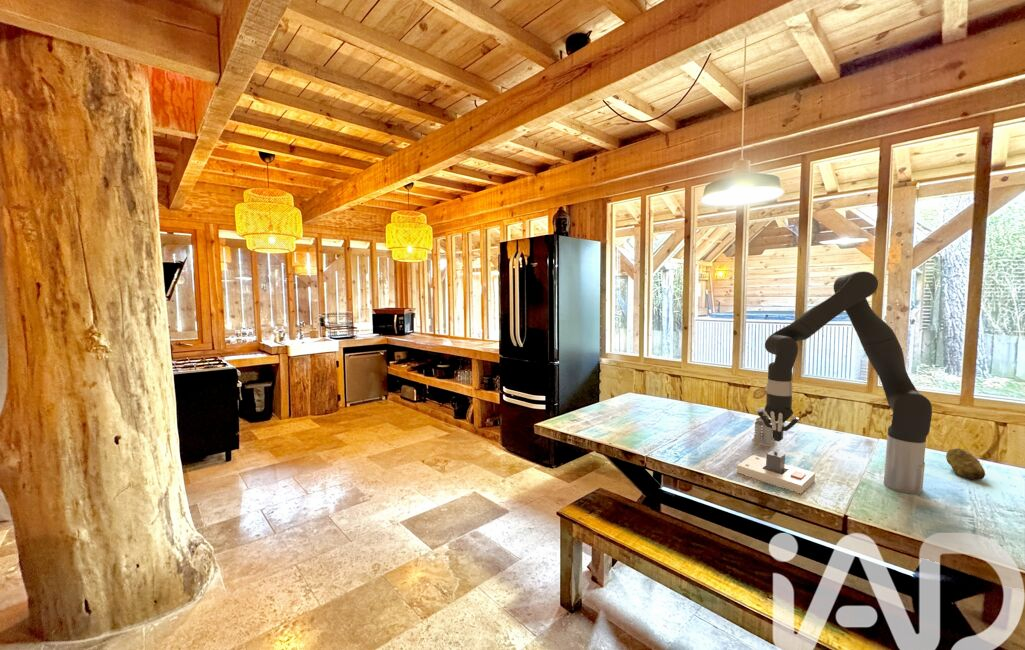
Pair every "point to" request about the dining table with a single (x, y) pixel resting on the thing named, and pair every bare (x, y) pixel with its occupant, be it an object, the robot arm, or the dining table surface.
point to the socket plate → (790, 479)
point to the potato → (965, 464)
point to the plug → (775, 462)
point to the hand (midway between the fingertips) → (777, 440)
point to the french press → (763, 432)
